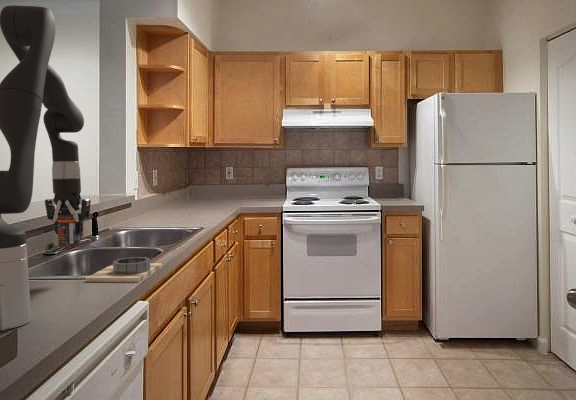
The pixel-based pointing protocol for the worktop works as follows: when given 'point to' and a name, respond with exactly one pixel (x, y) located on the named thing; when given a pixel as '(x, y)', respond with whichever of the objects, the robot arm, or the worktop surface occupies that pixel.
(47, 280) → the worktop surface
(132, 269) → the collar
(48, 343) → the worktop surface
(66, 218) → the supplement bottle
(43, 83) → the robot arm
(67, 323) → the worktop surface
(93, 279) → the base board
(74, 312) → the worktop surface
